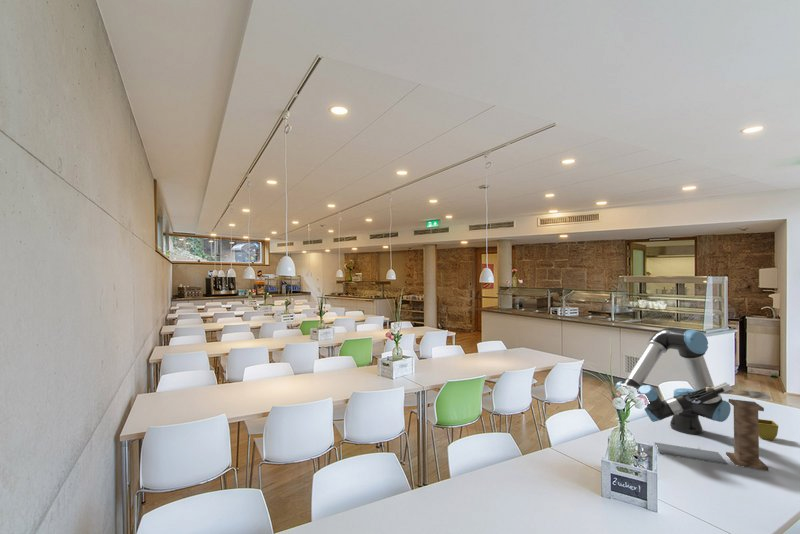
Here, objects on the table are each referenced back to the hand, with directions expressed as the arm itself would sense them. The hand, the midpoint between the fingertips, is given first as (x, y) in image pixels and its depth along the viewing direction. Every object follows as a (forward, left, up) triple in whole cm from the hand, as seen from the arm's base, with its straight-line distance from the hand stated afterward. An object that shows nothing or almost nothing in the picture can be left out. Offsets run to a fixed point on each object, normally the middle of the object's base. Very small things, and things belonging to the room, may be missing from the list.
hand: (728, 385), depth 188 cm
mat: (-14, -8, -36) cm, 39 cm away
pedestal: (+5, +3, -36) cm, 36 cm away
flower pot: (+3, +50, -36) cm, 62 cm away
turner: (+2, +1, -4) cm, 5 cm away
